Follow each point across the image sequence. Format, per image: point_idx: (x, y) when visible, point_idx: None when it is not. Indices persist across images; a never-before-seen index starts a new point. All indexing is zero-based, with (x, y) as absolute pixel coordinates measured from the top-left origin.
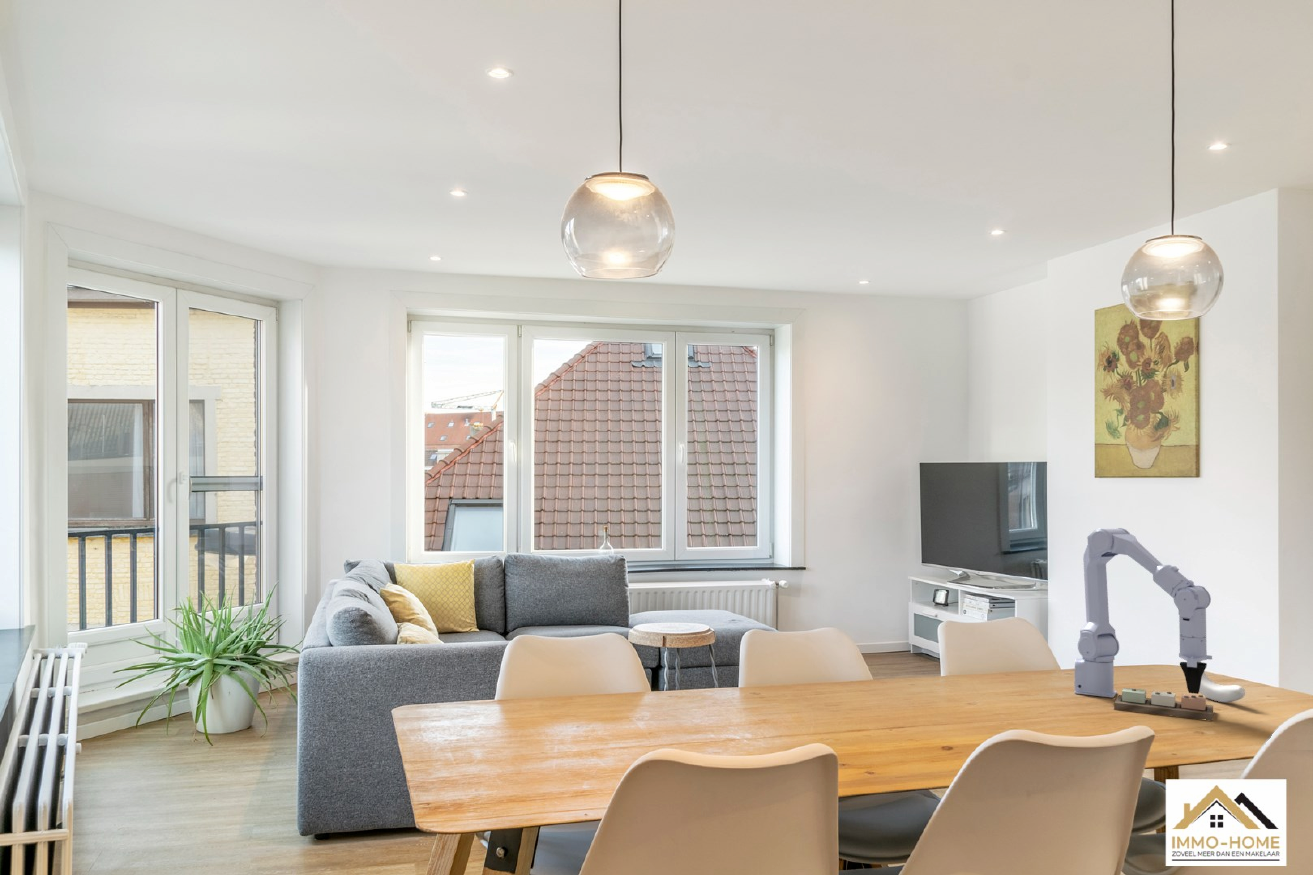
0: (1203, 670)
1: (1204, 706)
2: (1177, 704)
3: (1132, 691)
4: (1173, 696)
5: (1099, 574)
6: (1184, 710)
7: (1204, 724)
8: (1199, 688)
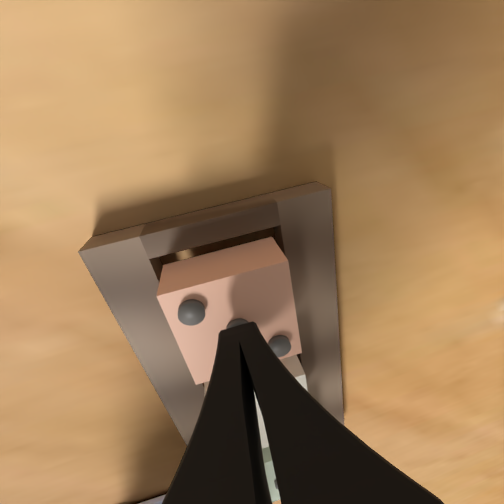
0: (422, 489)
1: (277, 247)
2: None
3: None
4: (297, 378)
5: None
6: (326, 294)
7: (402, 186)
8: (263, 340)
